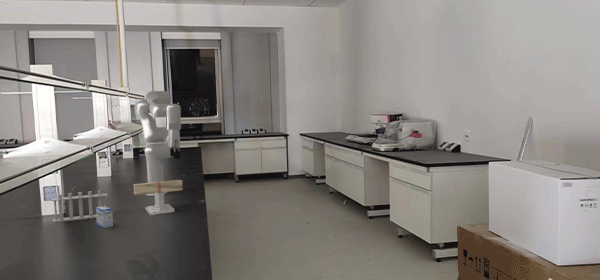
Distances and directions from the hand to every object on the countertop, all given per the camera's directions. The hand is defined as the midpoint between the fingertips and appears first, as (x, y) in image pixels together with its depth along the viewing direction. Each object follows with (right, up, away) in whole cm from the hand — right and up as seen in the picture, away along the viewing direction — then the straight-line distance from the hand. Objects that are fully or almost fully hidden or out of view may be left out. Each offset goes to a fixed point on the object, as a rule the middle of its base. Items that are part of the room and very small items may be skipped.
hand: (175, 157), depth 244 cm
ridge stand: (-4, -28, -13) cm, 31 cm away
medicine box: (-21, -31, -41) cm, 55 cm away
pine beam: (-5, -18, -14) cm, 23 cm away
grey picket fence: (-39, -30, -25) cm, 56 cm away
